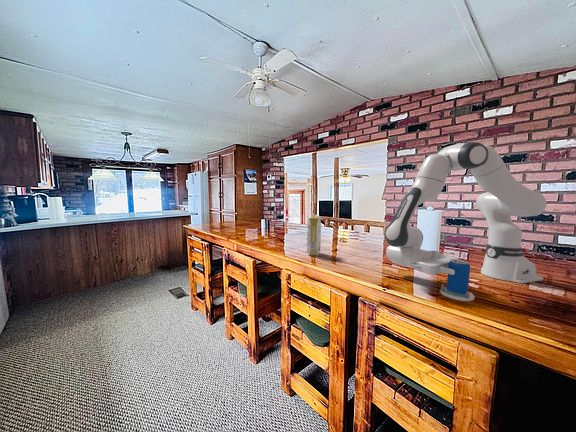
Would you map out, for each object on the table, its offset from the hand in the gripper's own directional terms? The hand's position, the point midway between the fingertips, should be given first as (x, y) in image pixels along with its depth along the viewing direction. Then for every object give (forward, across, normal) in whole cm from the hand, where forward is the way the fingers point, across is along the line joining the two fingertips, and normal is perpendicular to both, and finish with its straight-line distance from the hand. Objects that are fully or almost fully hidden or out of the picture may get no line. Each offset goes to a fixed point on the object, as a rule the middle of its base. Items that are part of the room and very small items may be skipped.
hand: (461, 270), depth 86 cm
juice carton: (-74, -11, +10) cm, 76 cm away
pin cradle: (-1, 0, +10) cm, 10 cm away
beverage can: (-1, 0, +9) cm, 9 cm away
